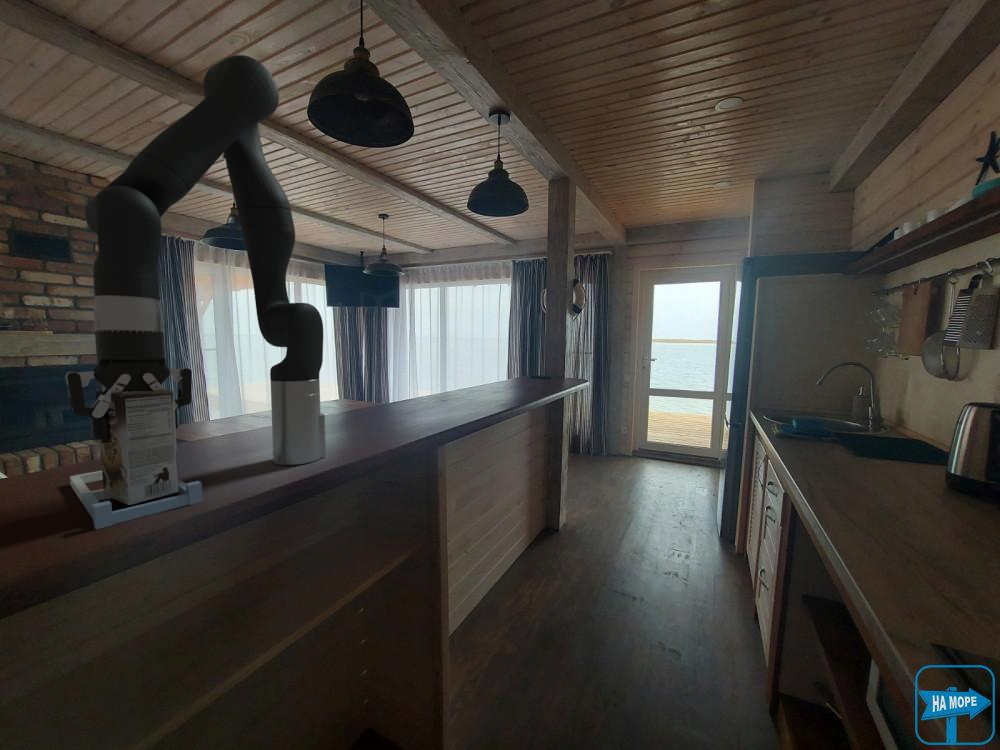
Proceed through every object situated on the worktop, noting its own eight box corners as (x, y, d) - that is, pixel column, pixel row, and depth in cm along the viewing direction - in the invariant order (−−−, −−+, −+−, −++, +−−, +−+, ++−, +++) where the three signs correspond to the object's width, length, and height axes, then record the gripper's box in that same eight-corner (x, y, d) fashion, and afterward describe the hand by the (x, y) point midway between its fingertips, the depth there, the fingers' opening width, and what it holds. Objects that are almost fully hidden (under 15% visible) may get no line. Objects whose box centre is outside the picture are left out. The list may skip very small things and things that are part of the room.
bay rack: (154, 468, 77) (154, 453, 76) (202, 501, 60) (201, 482, 60) (67, 485, 67) (66, 468, 67) (95, 529, 51) (94, 507, 51)
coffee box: (101, 495, 59) (93, 390, 58) (153, 482, 65) (147, 386, 64) (127, 506, 55) (119, 394, 54) (181, 491, 61) (175, 389, 60)
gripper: (182, 331, 66) (187, 426, 67) (55, 327, 55) (64, 443, 56) (197, 330, 62) (202, 432, 63) (62, 326, 50) (71, 451, 51)
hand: (137, 437), depth 59 cm, fingers closed on coffee box, 7 cm apart
